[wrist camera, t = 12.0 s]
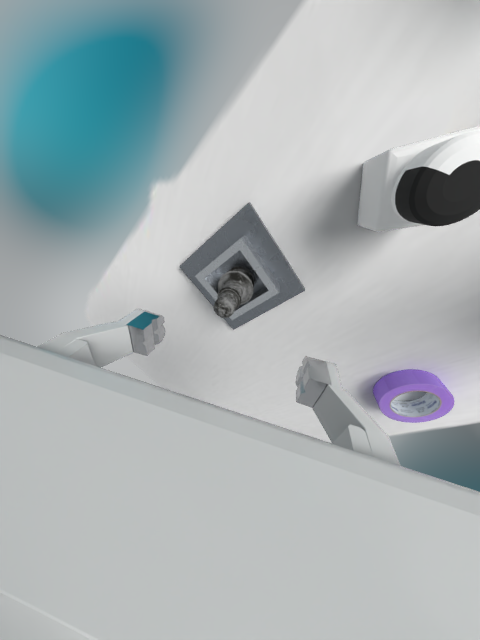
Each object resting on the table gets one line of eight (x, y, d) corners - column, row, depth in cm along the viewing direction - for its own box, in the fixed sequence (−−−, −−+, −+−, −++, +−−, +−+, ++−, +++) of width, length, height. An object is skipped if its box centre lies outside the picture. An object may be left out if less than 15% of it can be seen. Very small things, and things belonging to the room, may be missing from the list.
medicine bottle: (418, 215, 25) (505, 225, 15) (356, 225, 27) (396, 241, 17) (435, 143, 21) (564, 94, 11) (362, 162, 23) (418, 133, 13)
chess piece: (234, 300, 36) (214, 339, 26) (217, 273, 34) (188, 304, 24) (262, 288, 33) (251, 325, 23) (246, 258, 31) (226, 285, 21)
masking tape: (362, 398, 44) (368, 414, 41) (390, 362, 37) (399, 377, 34) (417, 411, 42) (428, 428, 39) (456, 376, 36) (472, 394, 33)
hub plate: (304, 288, 33) (306, 297, 30) (234, 326, 40) (229, 338, 37) (250, 202, 28) (245, 202, 25) (181, 264, 35) (170, 271, 32)
